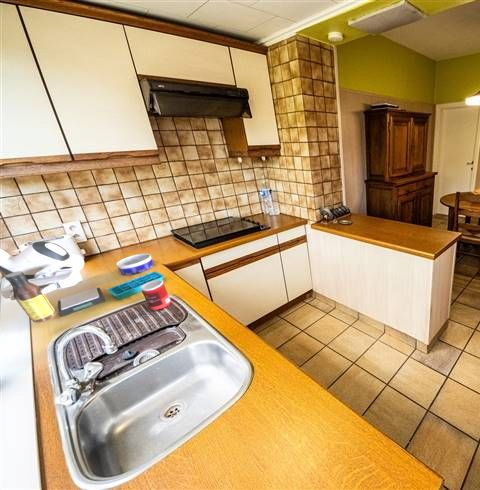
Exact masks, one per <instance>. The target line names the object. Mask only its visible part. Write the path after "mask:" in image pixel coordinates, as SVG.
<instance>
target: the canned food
mask: <svg viewBox="0 0 480 490" xmlns="http://www.w3.org/2000/svg"><path fill="white" fill-rule="evenodd" d="M141 293H142V295H143V298H144V299H145V301H146V304H147V305H148V308H149V309H150V310H151V311H152V310H158V309H162V308H164V309H166V308H168V307H169V306H171V304H172V301H171V298H170V295H169V293H168V291H167V289H166V286H165V283H164V280H163V281H162V280H154V281H150V282H148V283H146V284H144V285H143V286H142V287H141ZM167 306H168V307H167ZM165 307H166V308H165ZM162 310H163V309H162ZM159 311H160V310H158V311H157V312H159Z"/></svg>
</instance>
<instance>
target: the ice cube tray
mask: <svg viewBox="0 0 480 490" xmlns="http://www.w3.org/2000/svg"><path fill="white" fill-rule="evenodd" d="M164 278H165V275H164V274H162V273H160V272H158V271H157V270H156V271H151V272H149V273H146V274H143V275H140V276H138V277H135V278H133V279H129V280H127V281H125V282H122V283H120V284H117V285H115V286H112V287H110V288H107V291H108V292H109V294H111V295H113V296H114V297H115V298H116V299H118V300H124V299H126V298H128V297H131V296H133V295H136V294H138V293H140V292H141V293H142V291H141V287H142V286H143V285H144V284H146V283H148V282H150V281H154V280H162V281H163V282H164Z"/></svg>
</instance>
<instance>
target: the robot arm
mask: <svg viewBox="0 0 480 490" xmlns="http://www.w3.org/2000/svg"><path fill="white" fill-rule="evenodd" d="M84 267H85V260H84V258H83V257H82V256H81V255H79V254H76V253H71V252H68V251H67V250H66V249H65V248H64V247H62V245H61V246H60V245H59V244H57V243H55V242H50V241H44V240H43V241H35V242H33V243H31V244H30V245H29V246H27V247H26V248H25V249H23V250H22V251H21V252H19V253H18V254H17V255H15V256H13V255H11V254H9V253H8V252H6V251H5V250H3V249H2V248H0V271H1V273H3V274H4V276H6V275H8V274H10V273H13V272H17V271H22V272H23V273H24V276H25V277H26V279H27V280H28V281H29V282H30V283H33V284H35V285H37V286H38V287H39V289H40V290H38V291H37V292H38V293H39V295H43V294H44V295H46V294H47V293H50V292H52V291H55V290H60V289H66V288H70V287H73V286H76V285H77V284H78V283H79V282H81V281H83V277H82V274H81V272H82V270H83V269H84ZM0 295H1V296H2V298H4V299H7V300H8V299H10V300H11V301H16V299H15V298H14V294H13V287H12V285H11V284H8V285H6V286H4V287H3V288H1V289H0Z"/></svg>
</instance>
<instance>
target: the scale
mask: <svg viewBox="0 0 480 490" xmlns="http://www.w3.org/2000/svg"><path fill="white" fill-rule="evenodd" d="M104 297H105V296H104V295H103V292H102V290H101V288H100V287H92V288H90V289H86V290H84V291H80V292H78V293H74V294H71V295H68V296H65V297H63V298H60V300H57V310H58V311H57V312H58V314H59V316H60V317H65V316H67V315H70V314H72V313H76V312H79V311H81V310H84V309H87V308H89V307H92V306H95V305H98V304H101V303H104V302H105V298H104Z"/></svg>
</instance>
